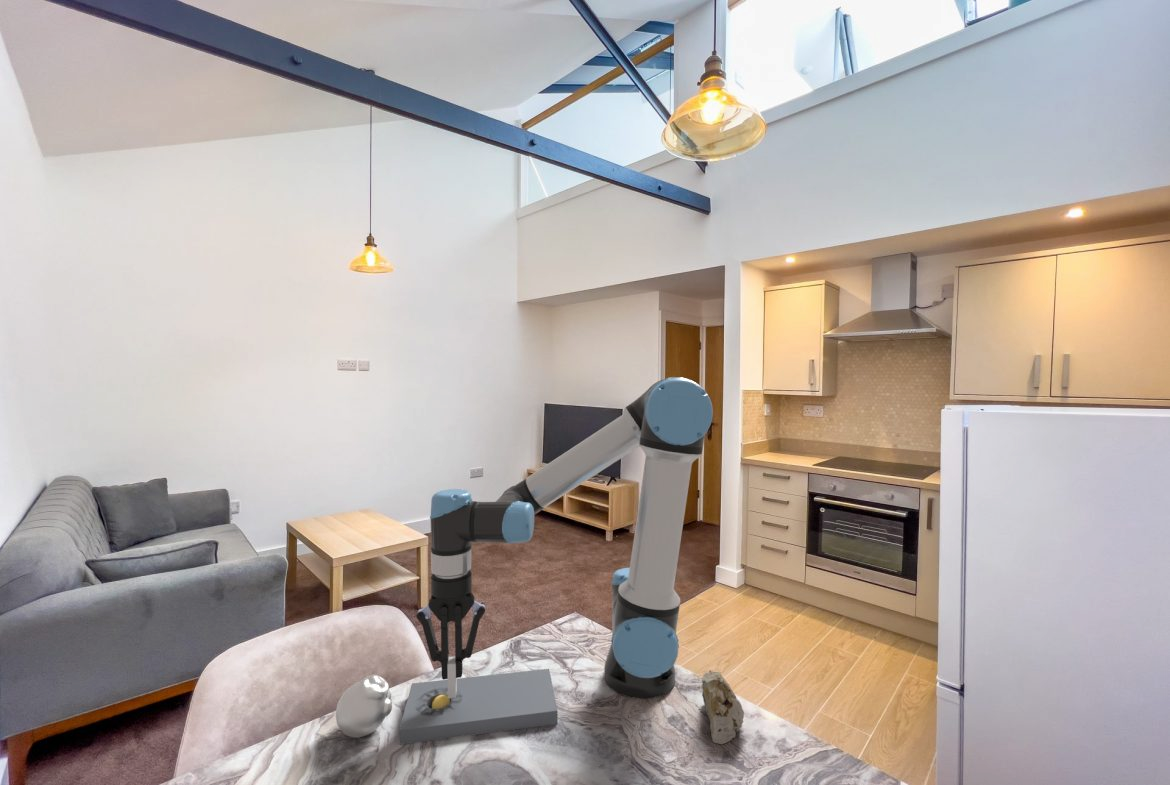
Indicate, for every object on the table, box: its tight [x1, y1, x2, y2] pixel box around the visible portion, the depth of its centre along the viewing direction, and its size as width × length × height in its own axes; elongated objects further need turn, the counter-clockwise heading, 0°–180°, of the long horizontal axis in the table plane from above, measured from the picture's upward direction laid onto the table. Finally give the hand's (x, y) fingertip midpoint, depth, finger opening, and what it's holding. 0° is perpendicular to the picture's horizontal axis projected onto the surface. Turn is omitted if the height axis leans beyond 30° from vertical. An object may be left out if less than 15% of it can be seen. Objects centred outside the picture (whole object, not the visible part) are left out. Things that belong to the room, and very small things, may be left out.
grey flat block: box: [398, 668, 559, 745], centre depth 97 cm, size 28×14×2 cm, turn 101°
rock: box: [701, 669, 745, 745], centre depth 93 cm, size 12×7×10 cm, turn 172°
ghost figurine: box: [335, 674, 393, 738], centre depth 90 cm, size 9×10×10 cm
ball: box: [432, 695, 450, 709], centre depth 95 cm, size 3×3×3 cm
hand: (452, 693), depth 96 cm, fingers closed
